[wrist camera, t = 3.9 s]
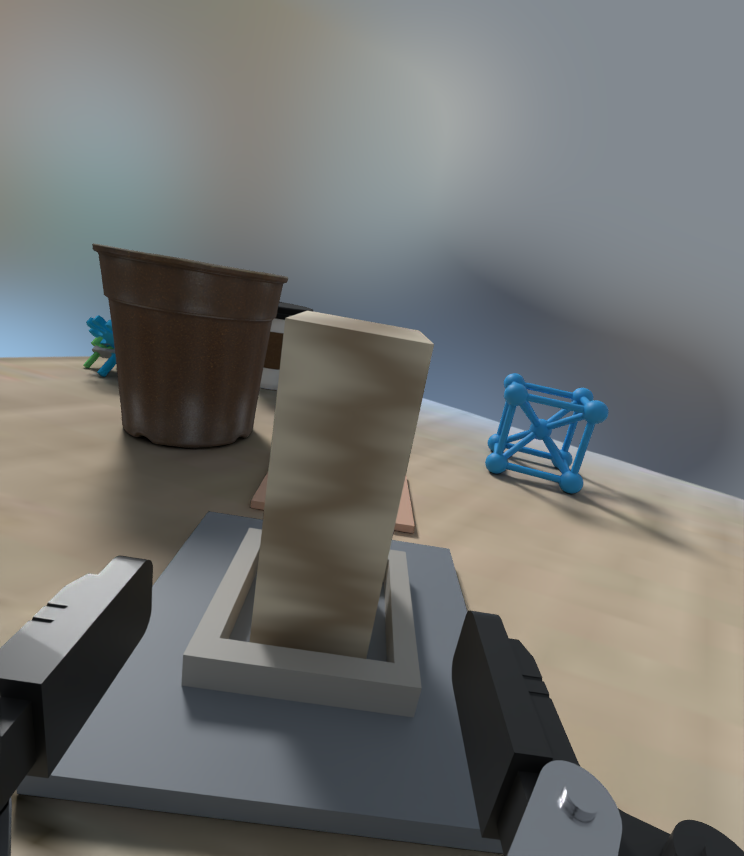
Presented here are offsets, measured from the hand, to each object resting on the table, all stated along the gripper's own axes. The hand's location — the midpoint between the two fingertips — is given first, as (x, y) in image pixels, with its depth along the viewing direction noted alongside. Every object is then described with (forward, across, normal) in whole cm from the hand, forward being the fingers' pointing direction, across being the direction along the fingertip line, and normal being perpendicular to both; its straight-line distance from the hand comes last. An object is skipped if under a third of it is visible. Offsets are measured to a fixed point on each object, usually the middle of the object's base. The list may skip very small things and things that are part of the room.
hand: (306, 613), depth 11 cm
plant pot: (+33, +16, +9) cm, 38 cm away
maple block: (+8, 0, +7) cm, 11 cm away
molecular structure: (+37, -21, +9) cm, 44 cm away
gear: (+49, +31, +9) cm, 59 cm away
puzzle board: (+8, 0, +8) cm, 12 cm away
